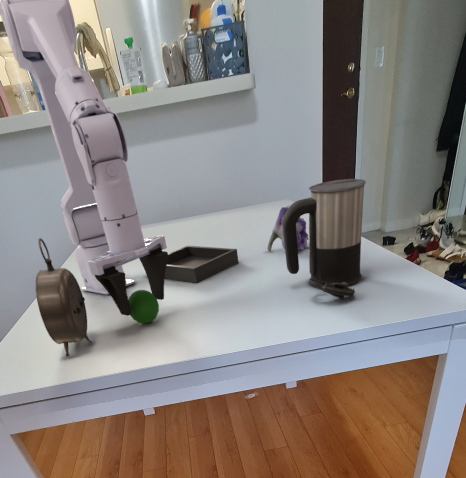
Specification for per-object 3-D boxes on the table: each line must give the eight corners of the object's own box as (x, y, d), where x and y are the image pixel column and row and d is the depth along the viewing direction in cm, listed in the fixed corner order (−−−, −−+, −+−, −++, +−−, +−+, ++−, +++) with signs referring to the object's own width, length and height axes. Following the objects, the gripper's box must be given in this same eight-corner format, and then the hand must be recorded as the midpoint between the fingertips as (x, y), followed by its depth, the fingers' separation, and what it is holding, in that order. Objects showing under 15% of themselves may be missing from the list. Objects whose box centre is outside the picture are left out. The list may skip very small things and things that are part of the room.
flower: (253, 224, 97) (294, 193, 94) (259, 233, 105) (297, 205, 101) (274, 264, 99) (315, 235, 95) (279, 270, 106) (317, 243, 103)
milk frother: (342, 268, 88) (344, 176, 78) (397, 287, 77) (407, 181, 67) (278, 288, 85) (271, 194, 75) (325, 310, 73) (325, 203, 63)
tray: (148, 276, 102) (144, 263, 101) (189, 258, 109) (187, 245, 107) (196, 283, 94) (194, 268, 92) (238, 262, 101) (237, 248, 99)
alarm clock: (70, 335, 81) (31, 233, 70) (99, 330, 81) (65, 227, 70) (57, 361, 73) (10, 250, 62) (89, 356, 73) (48, 244, 62)
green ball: (126, 325, 81) (117, 294, 77) (148, 314, 84) (140, 283, 80) (145, 330, 78) (137, 298, 74) (168, 318, 81) (160, 286, 77)
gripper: (96, 229, 64) (125, 325, 73) (170, 204, 71) (188, 294, 80) (69, 228, 68) (99, 319, 77) (141, 205, 75) (161, 290, 84)
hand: (143, 306), depth 79 cm, fingers open, 7 cm apart
